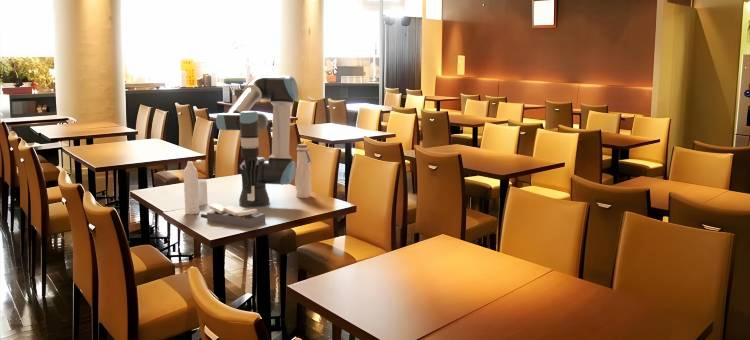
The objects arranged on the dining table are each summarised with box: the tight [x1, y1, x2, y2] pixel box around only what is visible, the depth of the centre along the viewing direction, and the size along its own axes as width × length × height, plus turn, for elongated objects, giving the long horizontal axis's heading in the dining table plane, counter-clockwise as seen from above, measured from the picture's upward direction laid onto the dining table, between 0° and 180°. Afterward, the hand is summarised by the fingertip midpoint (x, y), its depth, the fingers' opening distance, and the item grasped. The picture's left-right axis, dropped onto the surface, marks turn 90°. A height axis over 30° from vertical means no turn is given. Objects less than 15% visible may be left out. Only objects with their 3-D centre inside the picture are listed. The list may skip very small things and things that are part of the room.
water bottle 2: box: [294, 143, 313, 199], centre depth 325 cm, size 10×9×28 cm
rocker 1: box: [208, 202, 226, 214], centre depth 277 cm, size 5×7×1 cm
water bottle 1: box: [182, 159, 202, 215], centre depth 290 cm, size 9×6×25 cm
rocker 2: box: [223, 204, 244, 216], centre depth 274 cm, size 5×7×1 cm
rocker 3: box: [237, 208, 258, 216], centre depth 271 cm, size 5×7×1 cm
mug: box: [198, 178, 209, 207], centre depth 306 cm, size 8×12×12 cm
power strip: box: [200, 210, 266, 229], centre depth 278 cm, size 11×33×5 cm, turn 64°
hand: (251, 200), depth 268 cm, fingers closed
